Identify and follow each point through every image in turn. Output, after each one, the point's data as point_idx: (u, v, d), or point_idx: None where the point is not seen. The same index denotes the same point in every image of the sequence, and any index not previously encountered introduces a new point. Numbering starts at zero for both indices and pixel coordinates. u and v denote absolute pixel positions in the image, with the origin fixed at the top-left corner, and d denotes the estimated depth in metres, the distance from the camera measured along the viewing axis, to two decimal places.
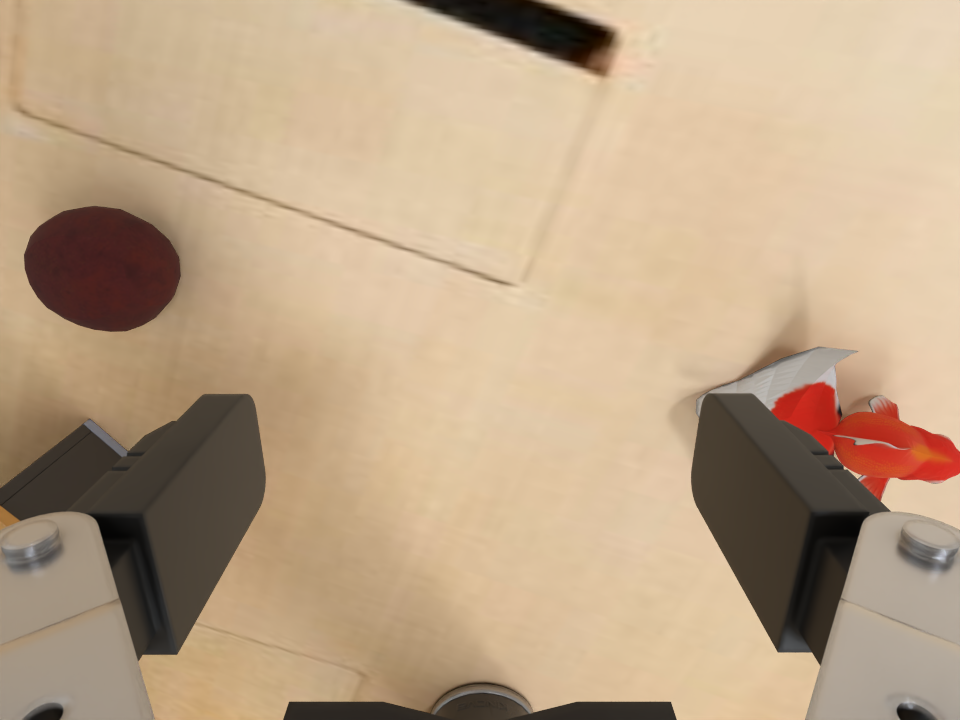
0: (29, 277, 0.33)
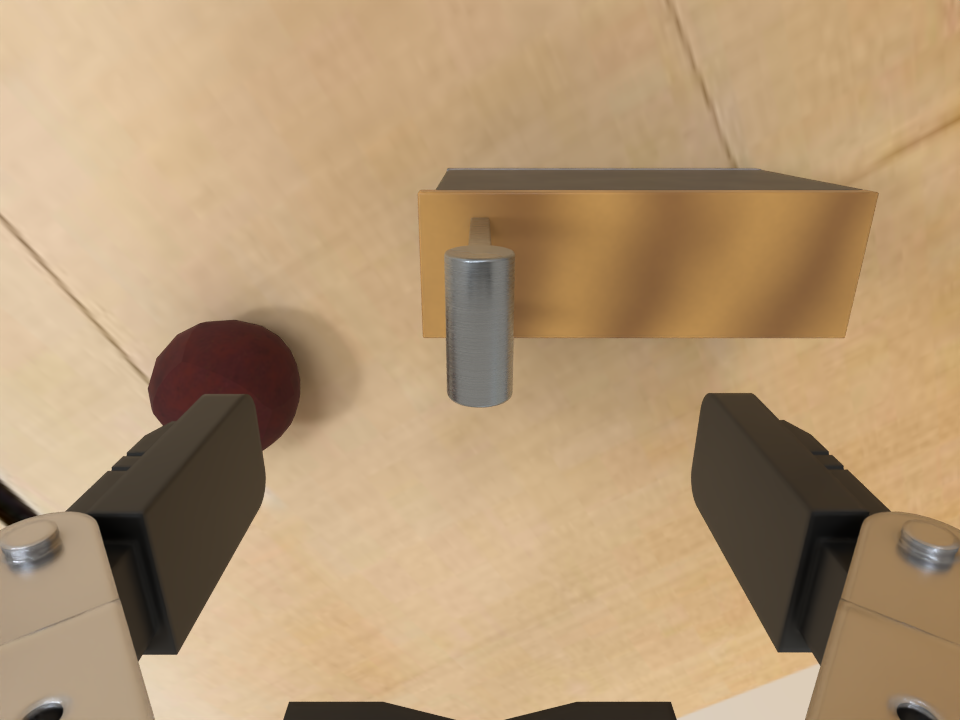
0: None
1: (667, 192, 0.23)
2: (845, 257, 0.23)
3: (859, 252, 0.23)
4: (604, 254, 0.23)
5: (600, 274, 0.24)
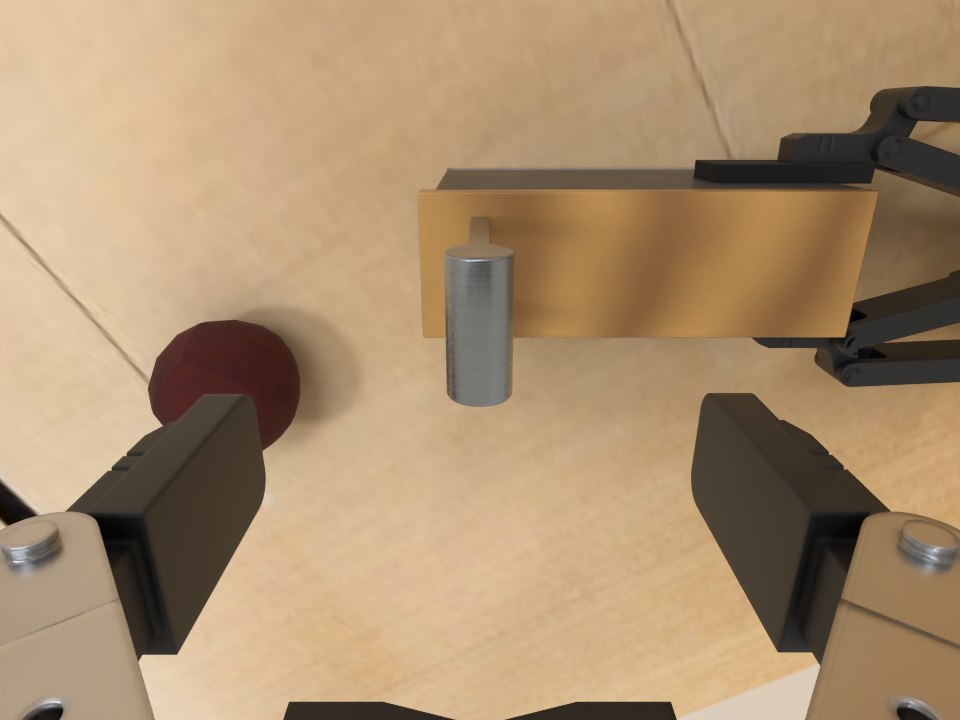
0: None
1: (667, 191, 0.23)
2: (845, 256, 0.23)
3: (859, 251, 0.23)
4: (604, 253, 0.23)
5: (600, 273, 0.24)
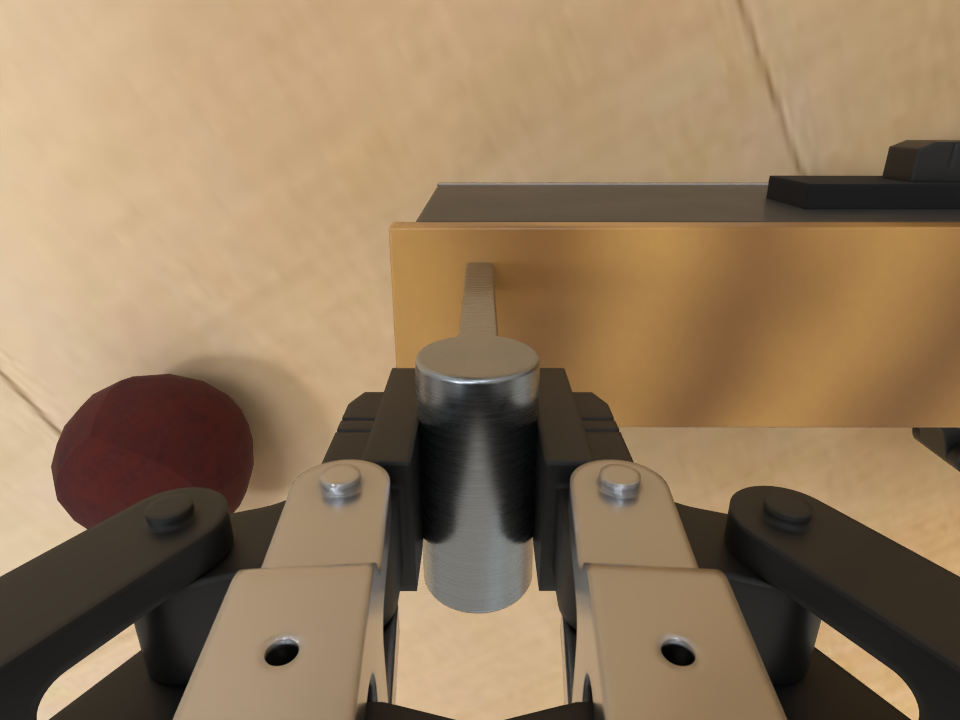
0: None
1: (752, 226, 0.16)
2: None
3: None
4: (658, 314, 0.16)
5: (651, 341, 0.17)
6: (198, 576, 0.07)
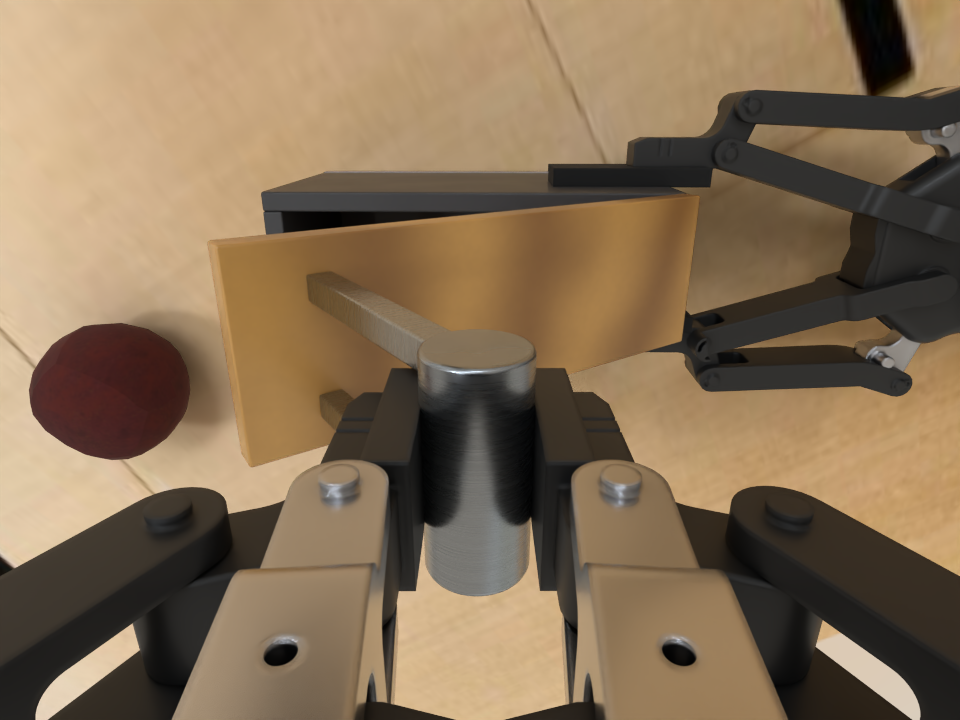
0: (132, 441, 0.32)
1: (534, 212, 0.18)
2: (680, 262, 0.23)
3: (689, 256, 0.23)
4: (478, 297, 0.18)
5: (475, 323, 0.18)
6: (197, 576, 0.07)
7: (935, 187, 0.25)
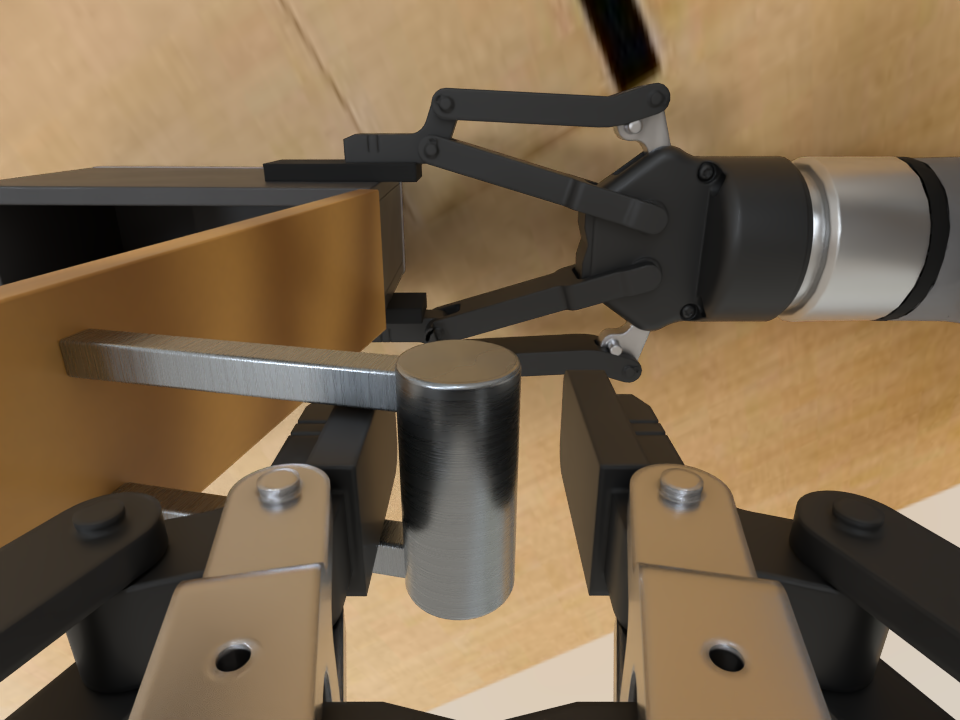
0: None
1: (270, 220, 0.17)
2: (375, 255, 0.24)
3: (380, 248, 0.24)
4: (240, 325, 0.15)
5: None
6: (134, 579, 0.07)
7: (632, 181, 0.27)
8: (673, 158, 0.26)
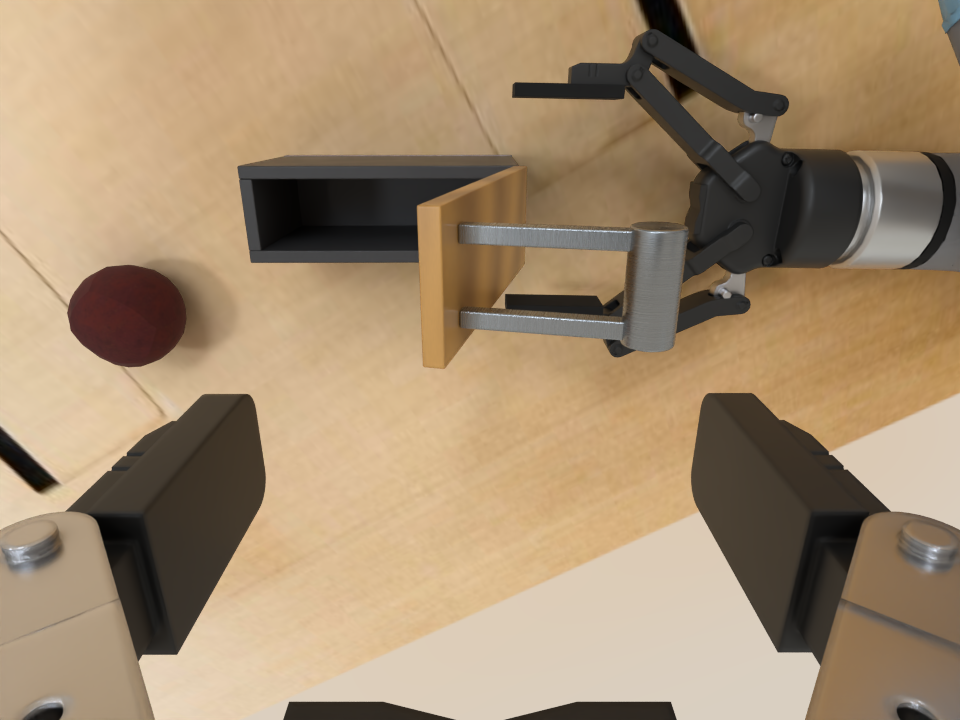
0: (144, 350, 0.44)
1: (496, 179, 0.28)
2: (523, 210, 0.35)
3: (525, 206, 0.36)
4: None
5: (488, 255, 0.27)
6: None
7: None
8: (765, 149, 0.38)
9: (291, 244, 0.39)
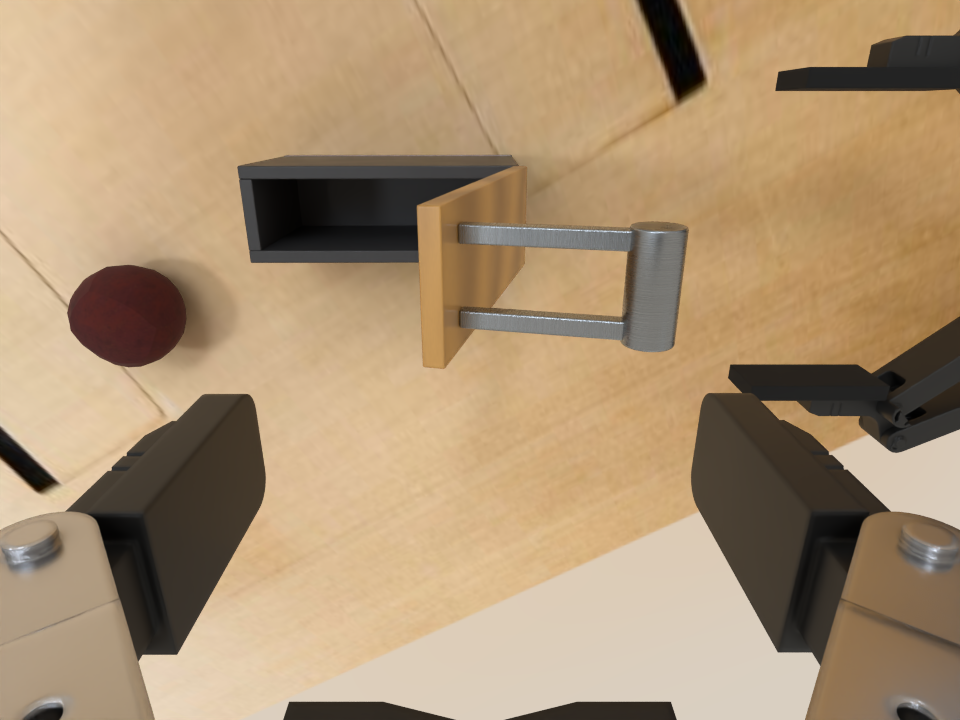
0: (144, 350, 0.44)
1: (496, 179, 0.28)
2: (523, 210, 0.35)
3: (525, 206, 0.36)
4: None
5: (488, 255, 0.27)
6: None
7: None
8: None
9: (291, 244, 0.39)
